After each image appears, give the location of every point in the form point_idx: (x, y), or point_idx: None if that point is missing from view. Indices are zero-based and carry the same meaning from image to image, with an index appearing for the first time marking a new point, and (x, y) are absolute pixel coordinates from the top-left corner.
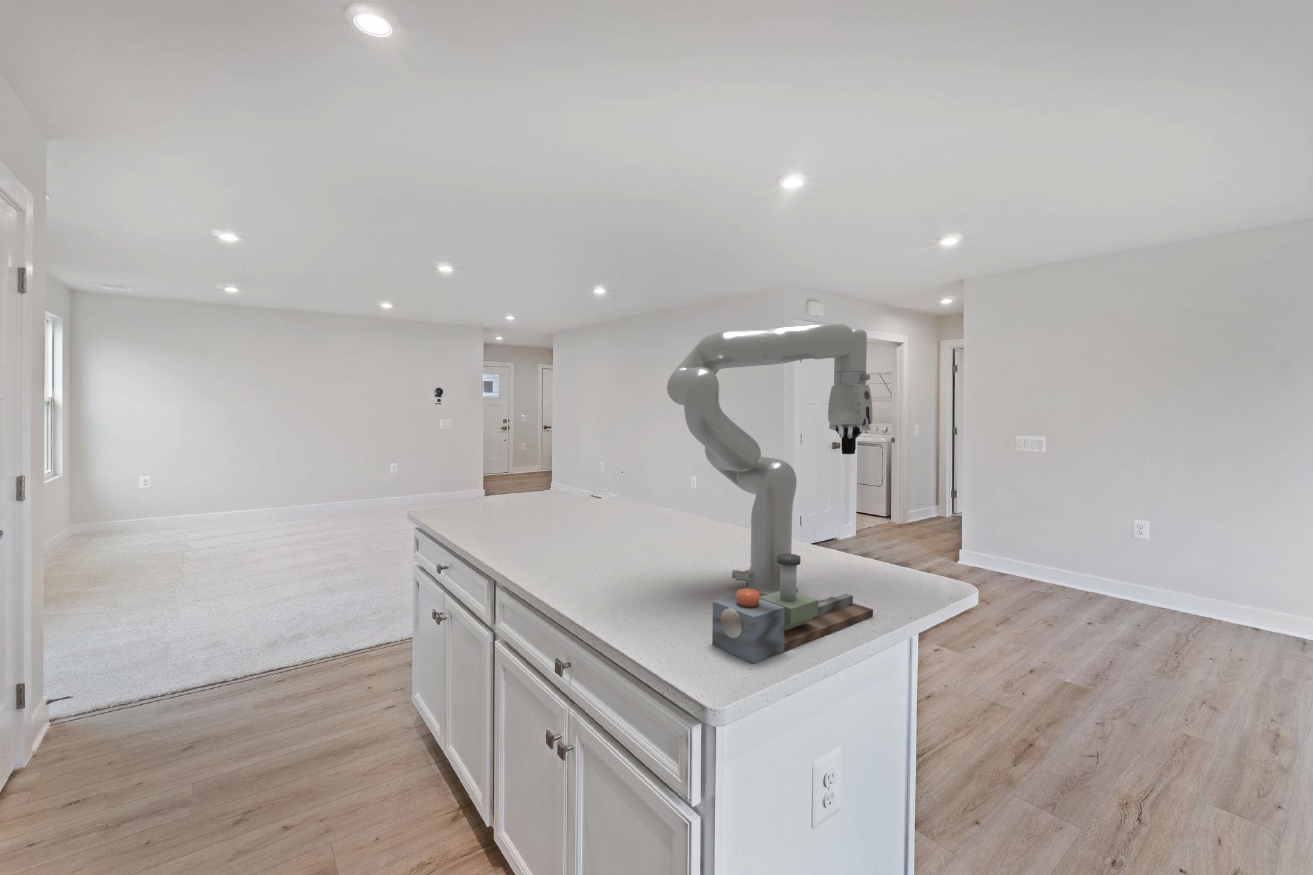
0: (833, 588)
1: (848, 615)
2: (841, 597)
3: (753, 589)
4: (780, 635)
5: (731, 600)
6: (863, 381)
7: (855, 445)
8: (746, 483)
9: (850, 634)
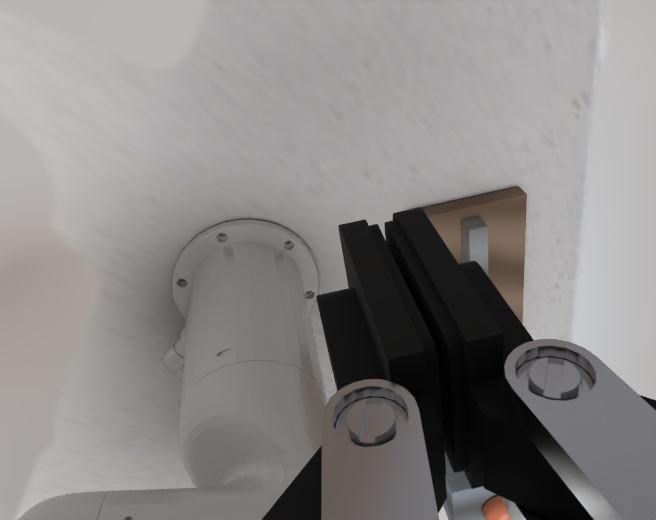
0: (310, 113)
1: (513, 267)
2: (479, 258)
3: (504, 514)
4: None
5: (470, 517)
6: None
7: (499, 295)
8: None
9: (538, 286)
